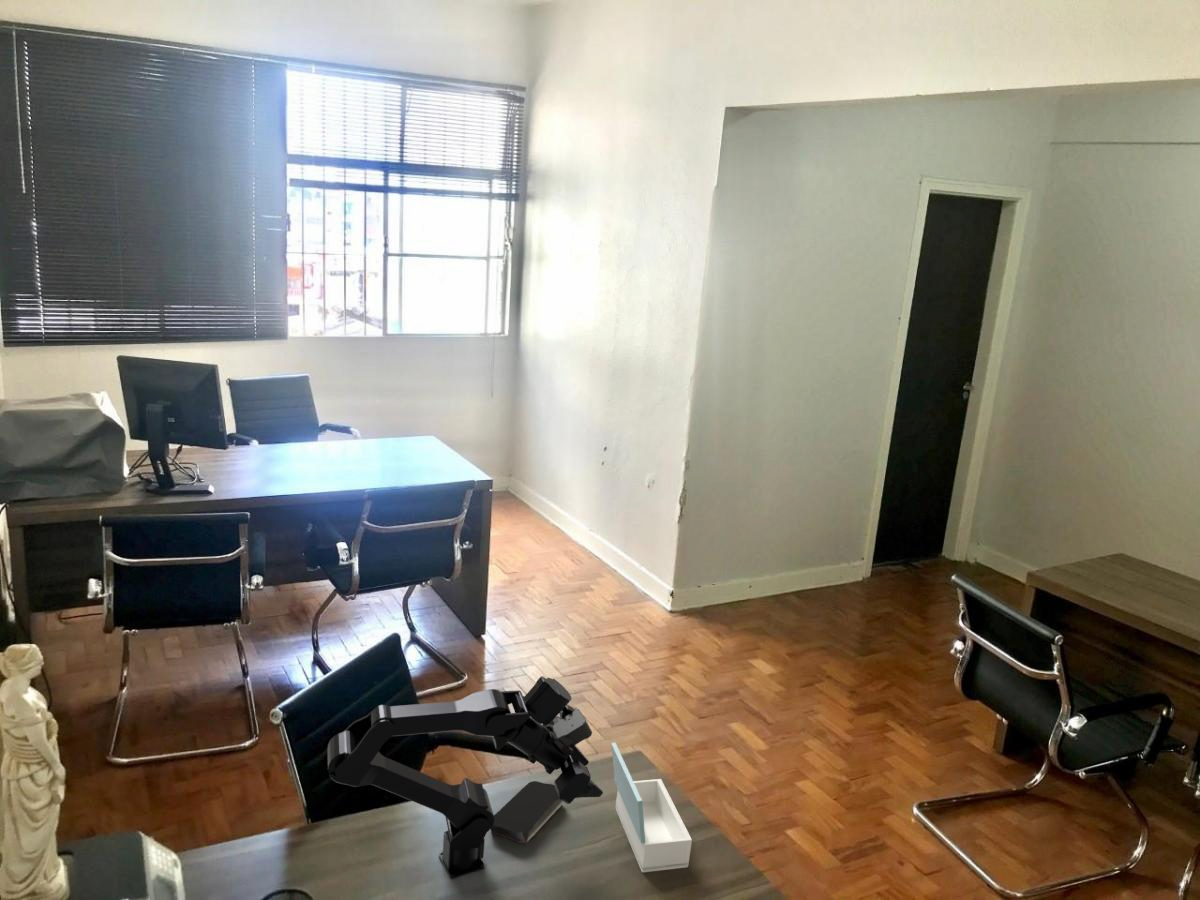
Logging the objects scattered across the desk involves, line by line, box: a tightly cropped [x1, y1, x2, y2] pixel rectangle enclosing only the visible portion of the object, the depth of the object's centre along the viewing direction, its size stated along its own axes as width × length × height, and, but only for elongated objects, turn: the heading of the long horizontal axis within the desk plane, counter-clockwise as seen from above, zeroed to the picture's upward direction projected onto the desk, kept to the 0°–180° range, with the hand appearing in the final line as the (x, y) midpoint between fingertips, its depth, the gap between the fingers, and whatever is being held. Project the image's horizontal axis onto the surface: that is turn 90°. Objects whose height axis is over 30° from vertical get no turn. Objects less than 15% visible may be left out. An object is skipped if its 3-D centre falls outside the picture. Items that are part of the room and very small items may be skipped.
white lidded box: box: [615, 778, 693, 873], centre depth 172 cm, size 9×18×6 cm, turn 15°
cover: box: [610, 742, 645, 844], centre depth 168 cm, size 9×18×1 cm
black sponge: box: [490, 780, 564, 844], centre depth 174 cm, size 16×8×4 cm, turn 152°
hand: (594, 778), depth 165 cm, fingers open, 9 cm apart
